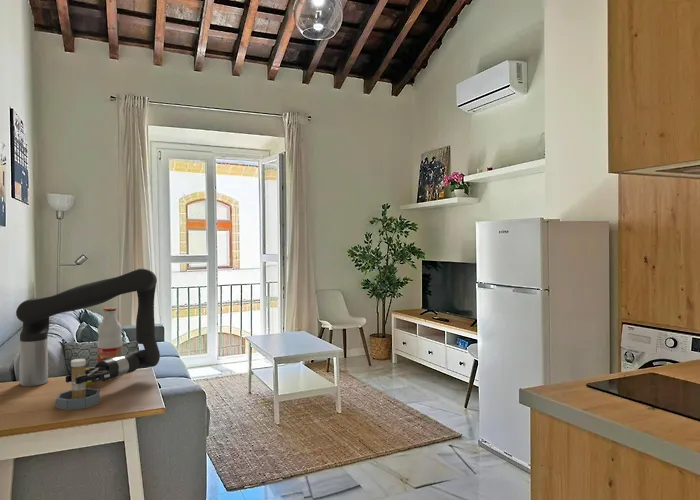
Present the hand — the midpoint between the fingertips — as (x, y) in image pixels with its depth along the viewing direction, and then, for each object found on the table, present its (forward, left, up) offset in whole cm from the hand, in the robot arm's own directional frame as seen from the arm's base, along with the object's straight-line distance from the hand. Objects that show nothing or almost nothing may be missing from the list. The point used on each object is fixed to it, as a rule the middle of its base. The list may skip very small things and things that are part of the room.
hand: (71, 380), depth 177 cm
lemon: (-13, +18, -9) cm, 24 cm away
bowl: (0, +3, -9) cm, 9 cm away
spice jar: (0, +3, -7) cm, 8 cm away
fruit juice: (-20, +34, -9) cm, 40 cm away
